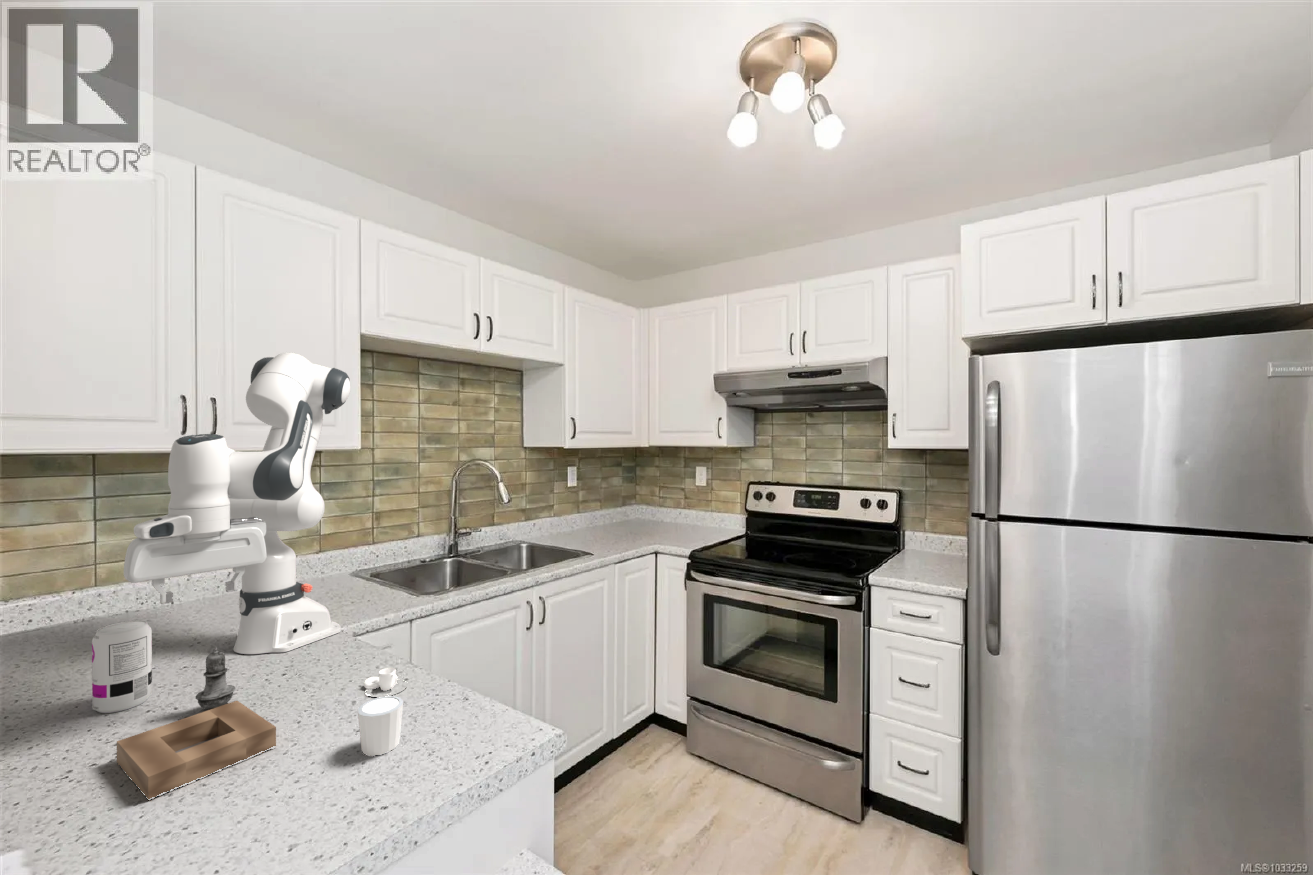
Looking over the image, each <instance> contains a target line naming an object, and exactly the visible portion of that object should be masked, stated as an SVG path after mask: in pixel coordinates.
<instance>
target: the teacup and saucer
mask: <svg viewBox="0 0 1313 875" xmlns="http://www.w3.org/2000/svg"><path fill="white" fill-rule="evenodd" d="M396 672H397V669H396V668H395V667H386V668H385V667H384V668H382V669H381V670H379V671H378V676H370V677H368V678H367V679H365V680H364V682H363V687H364V688H365V691H364V696H366V697H368V696H371V695H370V694H367V693H365V692H366V691H369V689H373V690H376V688H377V689H379V687H380V690H381V691H382V690H383V691H382V692H386V691H385V690H389V689H392V688H393V689H394V687H395V686H396V684H398V683H397V680H399V677H398V675H397V673H396ZM404 681H405V680H404ZM405 682H407V681H405ZM389 691H390V690H389ZM387 695H388V694H387ZM388 696H389V695H388Z"/></svg>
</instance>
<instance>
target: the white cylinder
mask: <svg viewBox="0 0 1313 875" xmlns="http://www.w3.org/2000/svg"><path fill="white" fill-rule="evenodd" d="M403 707H404V700H403V699H402V697H399V696H397V695H393V696H385V697H379V698H371V699H370V700H367V701H365V702H364V703H362V704H360V705H359V706H358V709H357V717H358V727H359V728H358V730H359V737H360V747H361V752H362V751H363V753H364V754H367V755H380V754H383V753H385V752H387V751H390V750H392V749H393V748H395V747H396V746H397V745H398V744H399V745H400V740H401V739H400V738H401V730H402V720H403V709H404V708H403ZM399 745H398V746H399ZM363 753H362V754H363ZM364 754H363V755H364Z"/></svg>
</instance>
